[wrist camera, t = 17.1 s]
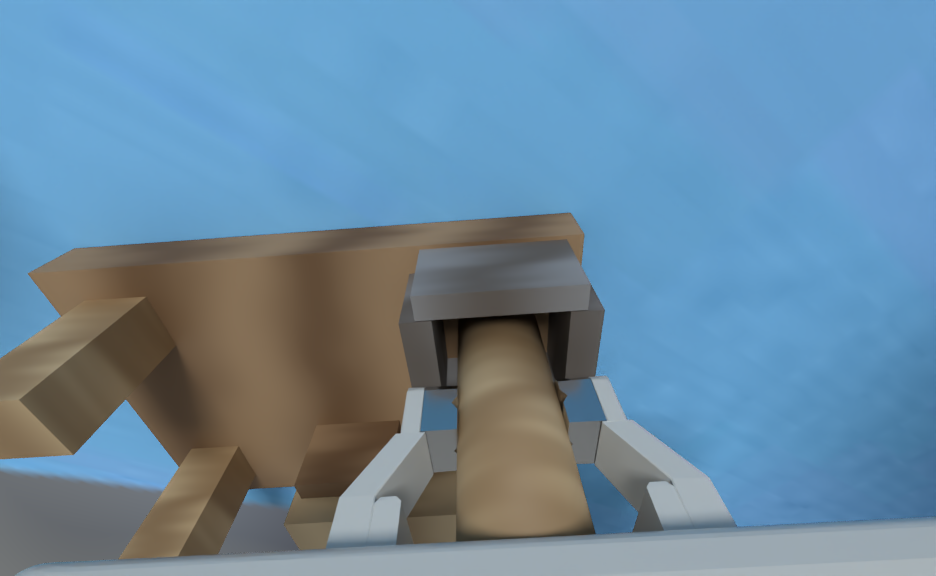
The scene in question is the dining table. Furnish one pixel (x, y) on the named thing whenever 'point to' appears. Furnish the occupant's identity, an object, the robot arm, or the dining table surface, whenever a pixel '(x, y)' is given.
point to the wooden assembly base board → (278, 351)
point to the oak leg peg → (512, 437)
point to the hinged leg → (425, 520)
